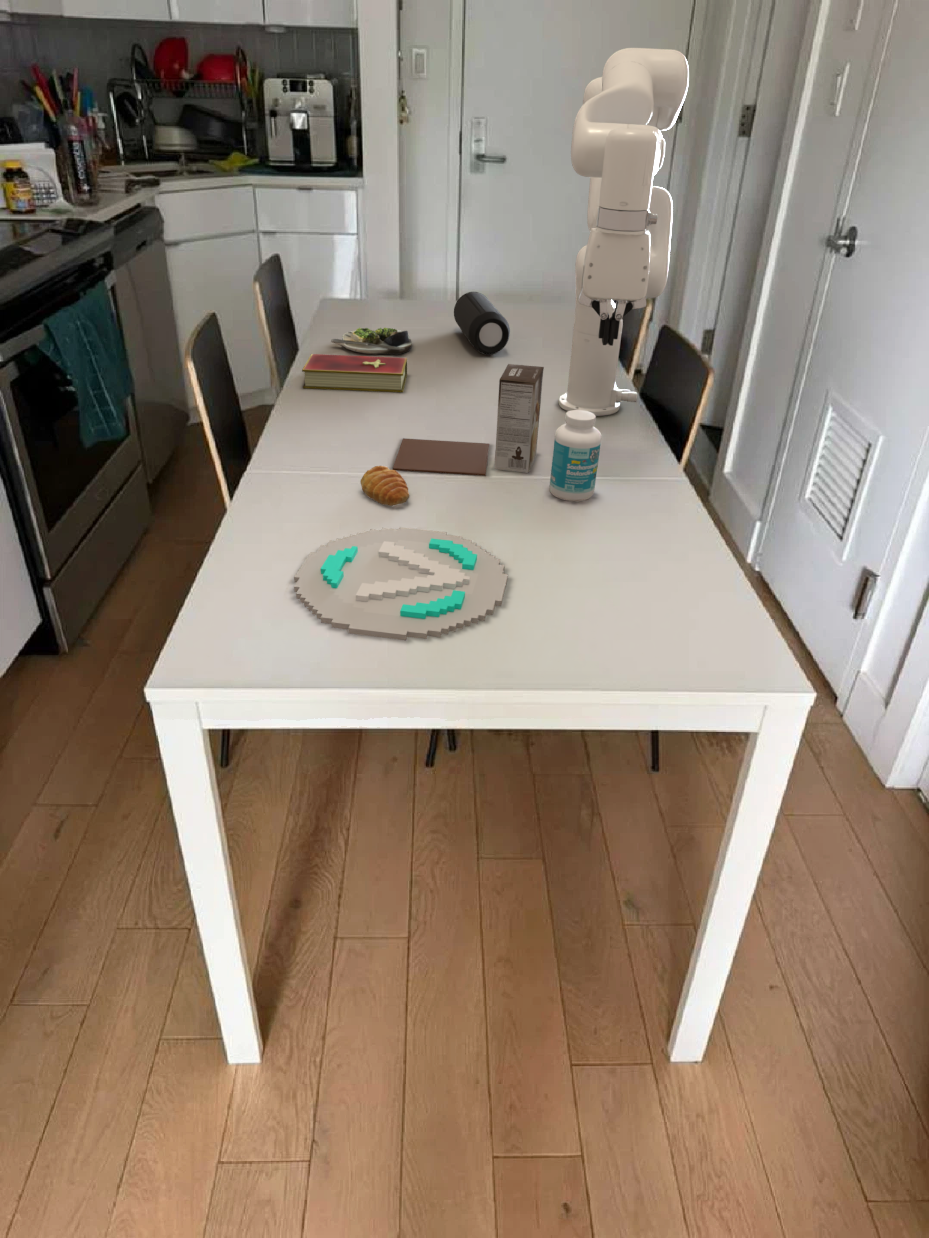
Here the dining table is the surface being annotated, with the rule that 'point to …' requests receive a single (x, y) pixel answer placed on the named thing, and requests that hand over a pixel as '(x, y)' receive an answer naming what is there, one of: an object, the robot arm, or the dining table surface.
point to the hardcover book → (355, 373)
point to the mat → (442, 457)
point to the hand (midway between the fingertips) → (607, 343)
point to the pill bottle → (575, 457)
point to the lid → (401, 583)
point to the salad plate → (376, 341)
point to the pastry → (385, 486)
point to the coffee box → (518, 417)
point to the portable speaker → (481, 323)
